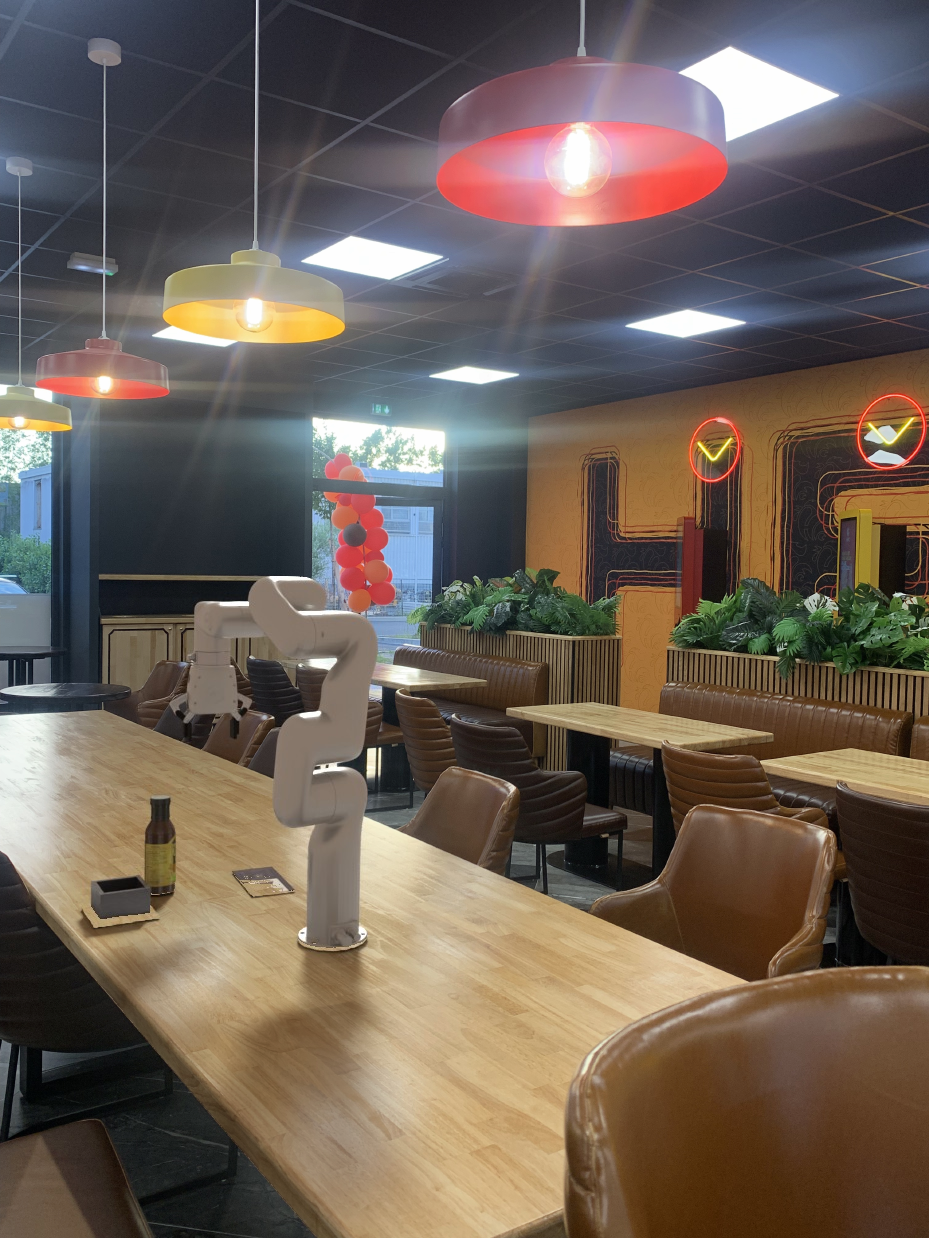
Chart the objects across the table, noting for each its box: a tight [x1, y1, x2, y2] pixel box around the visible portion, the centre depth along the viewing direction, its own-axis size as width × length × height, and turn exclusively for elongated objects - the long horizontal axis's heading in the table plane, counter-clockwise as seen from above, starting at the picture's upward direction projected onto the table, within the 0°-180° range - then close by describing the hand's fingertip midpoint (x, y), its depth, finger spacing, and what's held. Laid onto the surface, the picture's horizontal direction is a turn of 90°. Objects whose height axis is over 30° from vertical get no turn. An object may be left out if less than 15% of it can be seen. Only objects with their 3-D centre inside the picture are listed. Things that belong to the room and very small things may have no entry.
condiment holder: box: [90, 874, 152, 919], centre depth 193 cm, size 12×12×6 cm
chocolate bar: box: [231, 866, 296, 892], centre depth 215 cm, size 9×1×18 cm
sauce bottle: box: [143, 794, 177, 894], centre depth 206 cm, size 6×6×20 cm
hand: (211, 739), depth 213 cm, fingers open, 9 cm apart
